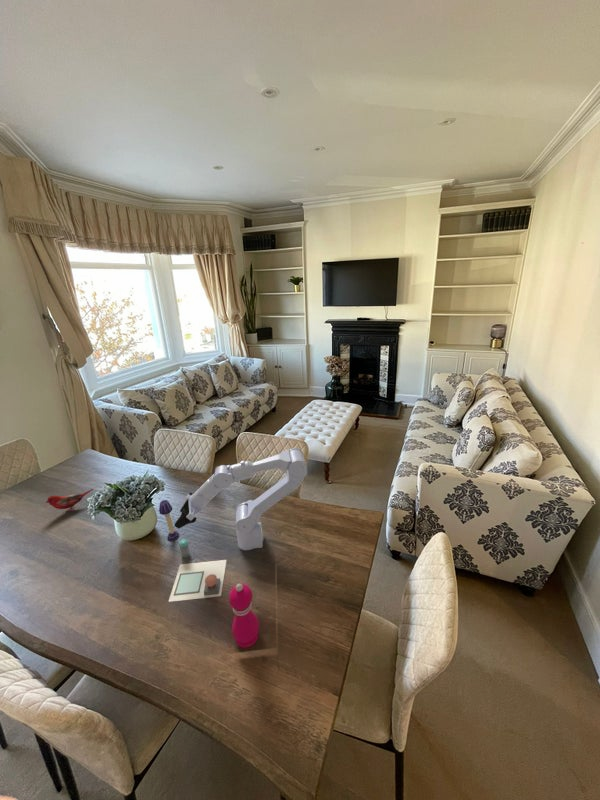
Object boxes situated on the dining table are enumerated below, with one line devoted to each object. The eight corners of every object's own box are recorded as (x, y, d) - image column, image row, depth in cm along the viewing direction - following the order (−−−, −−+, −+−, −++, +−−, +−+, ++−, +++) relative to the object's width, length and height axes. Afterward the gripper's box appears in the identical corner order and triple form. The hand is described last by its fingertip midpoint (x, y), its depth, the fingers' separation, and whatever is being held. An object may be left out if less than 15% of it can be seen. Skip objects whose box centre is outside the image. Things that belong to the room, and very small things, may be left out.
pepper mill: (235, 626, 93) (226, 574, 86) (260, 623, 93) (253, 571, 86) (232, 653, 86) (222, 599, 79) (259, 650, 87) (252, 596, 80)
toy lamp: (174, 542, 124) (166, 506, 119) (163, 540, 125) (154, 505, 120) (181, 533, 129) (173, 498, 123) (170, 531, 130) (162, 497, 124)
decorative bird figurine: (50, 516, 142) (43, 497, 139) (96, 498, 153) (90, 480, 149) (51, 519, 140) (43, 500, 137) (97, 501, 151) (91, 483, 147)
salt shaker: (191, 553, 119) (188, 538, 116) (189, 560, 116) (186, 544, 114) (183, 554, 119) (179, 539, 116) (181, 561, 116) (177, 545, 113)
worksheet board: (226, 561, 114) (226, 556, 114) (221, 598, 101) (220, 592, 101) (180, 566, 114) (179, 561, 113) (169, 604, 100) (167, 598, 100)
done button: (218, 580, 105) (217, 573, 104) (216, 589, 102) (215, 583, 101) (207, 581, 105) (206, 575, 104) (205, 591, 101) (203, 584, 100)
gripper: (200, 475, 117) (175, 500, 119) (191, 499, 103) (164, 526, 105) (215, 487, 119) (191, 511, 121) (208, 511, 105) (181, 538, 107)
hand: (179, 519), depth 113 cm, fingers open, 7 cm apart
